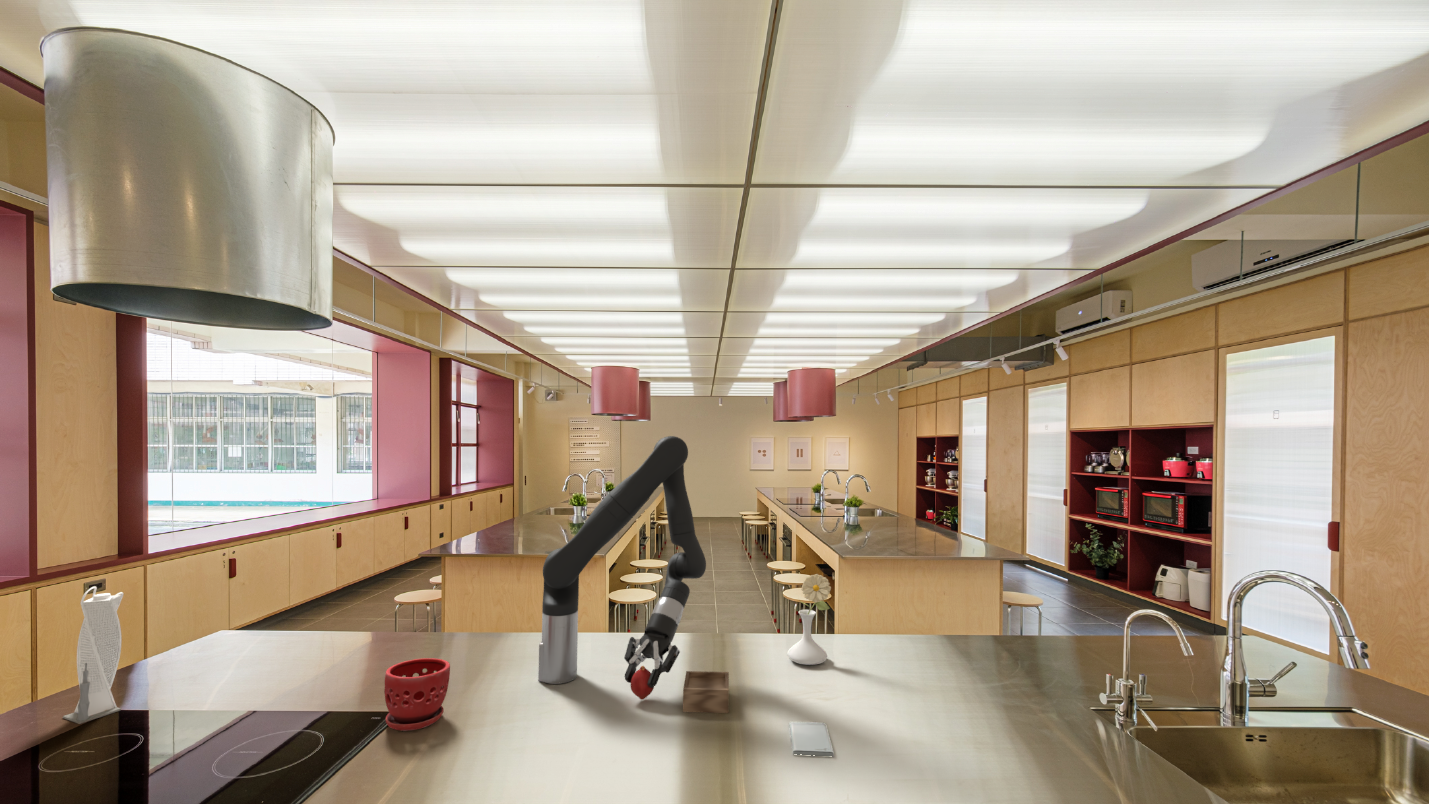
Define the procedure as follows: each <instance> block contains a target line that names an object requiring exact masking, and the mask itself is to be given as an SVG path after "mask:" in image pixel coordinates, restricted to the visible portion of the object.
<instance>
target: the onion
mask: <svg viewBox="0 0 1429 804" xmlns="http://www.w3.org/2000/svg"><path fill="white" fill-rule="evenodd" d="M651 673H652V672H650V670H649V669H647V668H646V667H645V666H644V665H641V666H640V667H639V669H637V670H636V672H635V673H634V675H633V676H632V678H631V683H630V690H631V692H632V693H633V694H634V695H635V696H636V697H638V699H639V700H641V701H642V700H645V699H647V697H649V696H650V695H651V694H652V693H653V691H654V689H655V686H654V687H653V688H650V687H649V686H648V685H647V683H648V680H649V678H650V675H651Z"/></svg>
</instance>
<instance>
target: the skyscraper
mask: <svg viewBox="0 0 1429 804" xmlns="http://www.w3.org/2000/svg"><path fill="white" fill-rule="evenodd" d="M97 589H98V587H97V586H95V585H94V586H92V587H90V588H89V589H87V590H86V591H85V592H84V594H83V595H82V597H81V600H80V603H79V604H80V607H81V611H82V613H83V620H82V623H81V627H80V630H79V634H78V639H77V647H76V672H77V679H78V685H79V693H80V694H79V699H78V702H77V705H76V706H75V709H74V712H72V713H69V714H66V715H65V714H64V715H63V716H62V719H65V720H67V721H70V722H73V723H75V724H79V725H81V724H85V723H87V722H90V721H93V720H95V719H98V718H99V719H100V718H102V717H105V716H108V715H111V714H114V713H116V712H120V711H121V707H118V706H117V704H116V702H115V698H114V696H113V692H112V690H111V689H112V686H113V683H114V680H115V677H116V673H117V671H118V666H119V662H120V657H121V652H122V640H123V639H122V638H123V637H122V629H121V621H120V619H119V616H118V611H119V610H118V609H119V607H120V605H121V602H122V600H123V597H124V594H125V593H124V592H122V591H120V592H117V593H116V594H114V595H111V593H110V592H105V593H97ZM91 590H93V592H92V597H90V598H88V599H86V600H85V598H86V597H87V594H88V593H89V592H90V591H91Z"/></svg>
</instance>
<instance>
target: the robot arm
mask: <svg viewBox="0 0 1429 804" xmlns="http://www.w3.org/2000/svg"><path fill="white" fill-rule="evenodd" d="M688 457H689V448H688V446H687V443H686V442H685V441H684V440H683V439H682V438H680V437H678V436H675V435H668V436H664V437H662V438H660V439H659V440H657V442H656V443H655V445H654V448H653V451H652V452H651V453H650V454H649V456H648V457H647V458H646V459H645V460H644V462H643V463H642V464H641V465H640V466H639V467H638V468H637V469H636V470H635V471H634V472H633V473H632V474H630V475H628V477H626V478H625V479H624V480H622V481H621V482H620V483H619V484H617V485H616V486H615V487H614V488H613V489H612V490H611V491H610V492H608V494H607V495H606V496H605V497H604V498H603V499H602V500H601V501H600V502H599V504H598V505H597V506H595V508H594V510H593V511H592V512H591V513H590V515H589V516H588V517H587V519H586V521H584V523H583V525H582V526H581V527H580V529H579V530H578V531H577V533H576V534H575V535H574V536H573V537H572V538H571V539H570V540H569V541H568V542H567V543H566V544H565V545H564V546H562V547H559V548H556V549H553V550H552V551H551V552H550V553H549V554H548V555H547V557H546V558H545V560H544V562H543V567H542V577H543V592H542V594H543V595H542V605H541V607H542V608H541V609H542V611H541V612H542V613H541V614H542V615H541V616H542V617H541V641H540V642H539V645H538V673H537V674H538V675H537V676H538V677H537V678H538V679H537V681H538V682H543V683H545V684H550V685H560V684H566V683H569V682H572V681H573V680H575V679H576V678H577V676H578V638H579V636H578V635H579V634H578V631H579V630H578V629H579V628H578V627H579V625H578V624H579V598H580V597H579V596H580V592H579V591H580V590H579V588H580V587H579V586H580V584H579V583H580V574H581V573H582V571H583V570H585V568H586V566H587V565H588V563H589V562H590V561H591V560H592V559H593V558H594V557H595V555H596V554H597V553H598V552H599V551H600V550H601V549H602V548H603V547H604V546H606V545H607V544H608V543H609V542H610V541H611V540H612V539H613V538H614V537H615V536H616V535H617V534H619V533H620V531H621V530H623V529H624V527H626V526H627V524H629V522H630V521H631V520H632V519H633V518H634V517H635V516H636V515H637V513H638V512H640V510H641V509H642V507H643V506H644V505H645V504H646V503H647V502H648V500H649V499H650V498H651V496H652V495H653V494H654V492H655V491H656V490H657V489H658V487H659V486H660V485H661V484H662V487H663V492H664V499H665V507H666V508H665V509H666V516H667V525H668V531H669V538H670V542H671V543H672V544H673V545H675V546H679V547H681V548H682V550H683V552H675V553H674V554H672V556H670V558H669V560H668V563H667V568H666V575H665V580H664V581H665V582H664V587H663V589H662V591H661V594H660V596H659V599H658V600H657V603H655V605H654V608H653V610H652V612H651V614H650V616H649V619H648V621H647V624H646V625H645V629H644V633H643V635H642V636H641V637H640V638H635V637H634V636H631V637H629V640H628V644H627V647H626V650H625V653H624V660H625V661H626V663H627V664H628V666H627V668H626V671H625V672H624V680H625V681H626V683H628V684H629V683H630V684H631V678H632V676H633V675H634V673H635V672H636V671H637V667H639V665H640V664H641V663H643V662H645V660H646V659H651V660H654V669H653V668H652V670H651V672H650V673H651V675H650V678H649V680H648V683H647V685H648V686H649V687H650V688H653V687H654V688H655V687H656V686H657V684H658V681H659V679H660V676H661V674H662V673H665V672H666V673H670V672H671V669H672V668H673V666H674V664H675V662H676V660H677V658H678V657H679V654H680V653H681V651H680V649H679V648H678V647H677V645H676V644H674V645H672V644H671V643H672V642H673V640H674V638H675V635H676V633H677V630H678V627H679V624H680V623H681V620H682V618H683V617H682V616H683V612H684V609H685V607H686V603H687V602H688V599H689V595H690V590H691V589H690V587H689V585H688V584H686V583H685V582H683V579H691V580H693V579H700V578H701V577H703V576H704V574H705V572H706V569H707V560H706V556H705V554H704V552H703V551H704V550H703V549H702V547H701V544H700V542H699V540H698V538H697V537H698V536H696V530H695V523H694V517H693V512H692V508H691V507H692V506H691V503H690V500H689V496H688V492H687V486H686V481H685V472H684V471H685V470H684V469H685V467H684V465H685V463H686V462H687V459H688ZM667 653H668V654H667ZM665 654H667V656H666V657H665V659H664V655H665Z"/></svg>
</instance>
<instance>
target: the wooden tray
mask: <svg viewBox="0 0 1429 804" xmlns="http://www.w3.org/2000/svg"><path fill="white" fill-rule="evenodd" d="M684 677H685V678H684V682H683V687H682V688H683V689H682V690H683V691H682V712H683V713H713V714H717V713H718V714H719V713H720V714H729V710H730V709H729V707H730V706H729V704H730V703H729V699H730V697H729V695H730V692H729V691H730V688H729V687H730V679H729V677H730V673H729V671H706V670H705V671H698V670H697V671H695V670H692V671H691V670H686V672H685V676H684Z"/></svg>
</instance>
